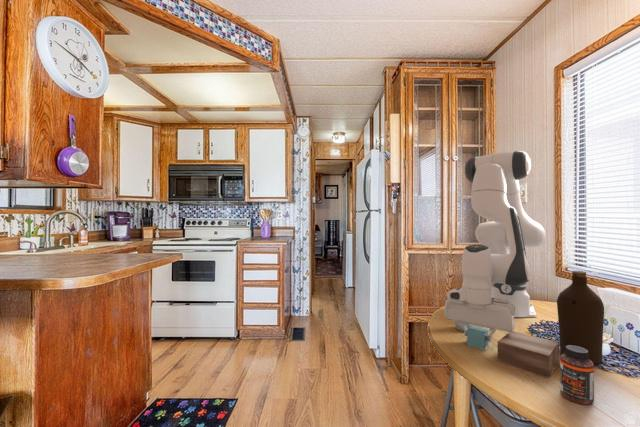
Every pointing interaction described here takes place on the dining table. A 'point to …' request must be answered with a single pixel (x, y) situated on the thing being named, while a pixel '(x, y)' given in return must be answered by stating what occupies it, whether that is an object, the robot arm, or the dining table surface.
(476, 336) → the teal cube
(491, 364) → the dining table surface
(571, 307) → the olive oil
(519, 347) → the walnut block
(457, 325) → the salt shaker
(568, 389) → the supplement bottle
